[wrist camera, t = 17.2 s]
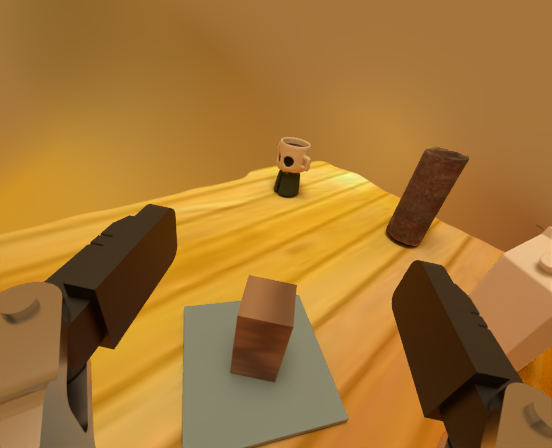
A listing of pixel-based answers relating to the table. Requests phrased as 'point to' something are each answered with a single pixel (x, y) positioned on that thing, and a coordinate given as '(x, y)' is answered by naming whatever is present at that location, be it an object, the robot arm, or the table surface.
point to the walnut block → (263, 328)
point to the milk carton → (519, 300)
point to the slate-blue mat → (251, 385)
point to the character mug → (291, 164)
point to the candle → (425, 194)
